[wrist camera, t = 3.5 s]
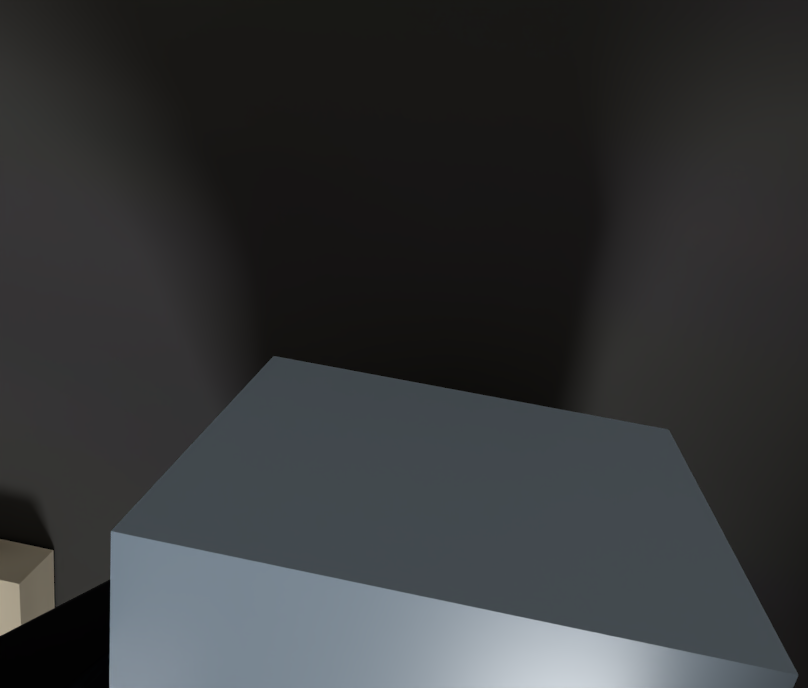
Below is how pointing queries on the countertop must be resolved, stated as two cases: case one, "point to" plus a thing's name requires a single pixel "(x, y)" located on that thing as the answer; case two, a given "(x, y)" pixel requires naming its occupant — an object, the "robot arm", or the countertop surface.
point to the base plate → (24, 583)
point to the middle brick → (428, 550)
